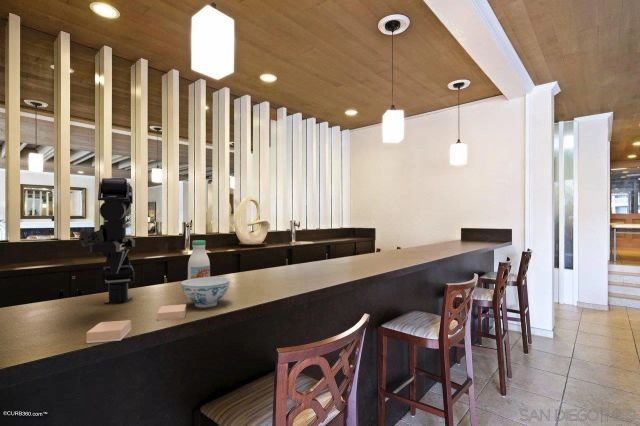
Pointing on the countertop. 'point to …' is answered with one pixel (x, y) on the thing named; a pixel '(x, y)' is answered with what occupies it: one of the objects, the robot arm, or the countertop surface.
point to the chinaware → (205, 290)
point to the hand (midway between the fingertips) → (114, 274)
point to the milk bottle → (198, 261)
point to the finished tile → (171, 312)
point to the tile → (108, 331)
